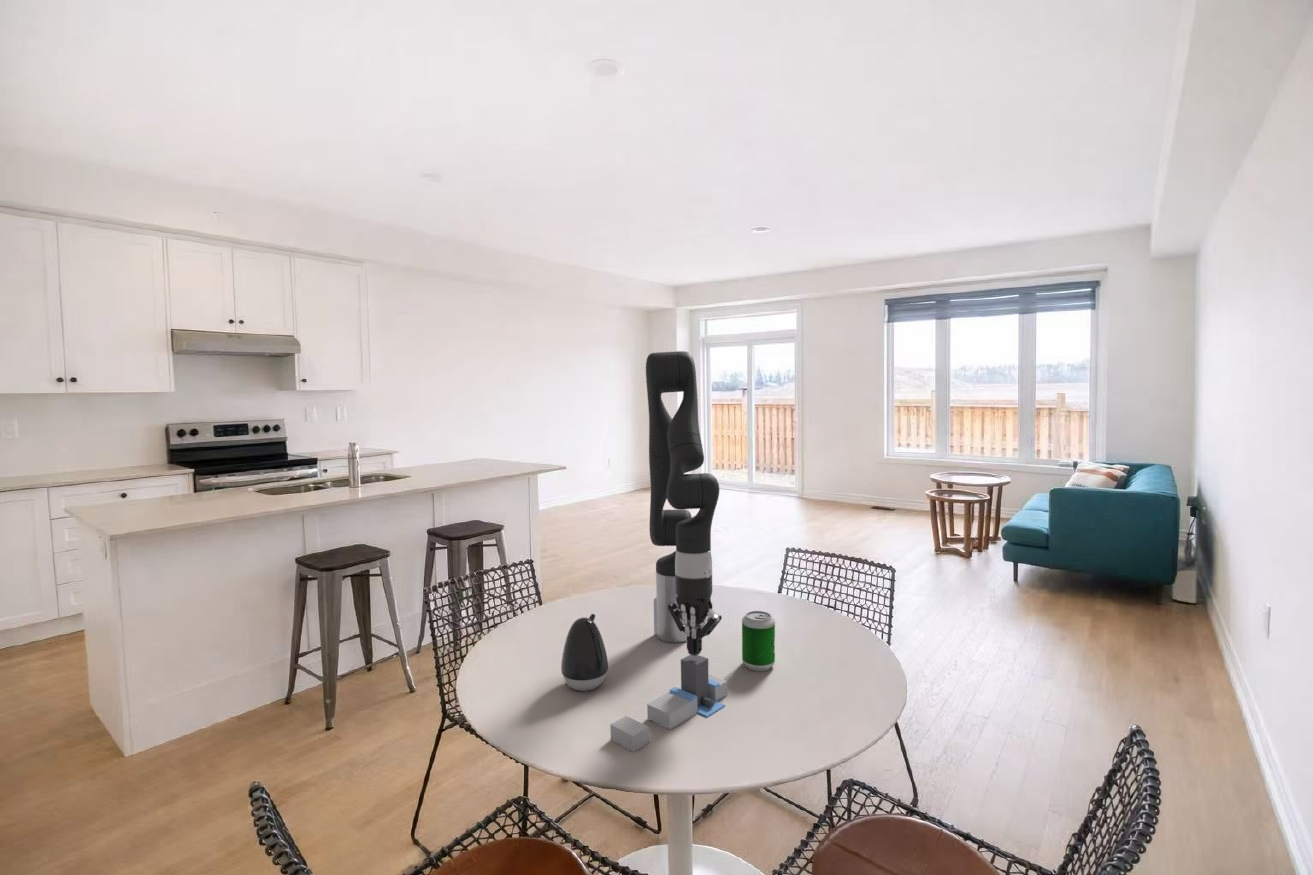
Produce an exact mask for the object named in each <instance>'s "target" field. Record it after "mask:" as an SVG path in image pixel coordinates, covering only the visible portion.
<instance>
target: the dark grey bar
mask: <svg viewBox="0 0 1313 875" xmlns="http://www.w3.org/2000/svg"><path fill="white" fill-rule="evenodd" d="M708 674H709V658H707V657H704V656H702V655H699V654H698V655H696V656H694V655H691V654H689V655H687V656H685V657H684V658H681V659H680V689H681V690H684V691H686V692H688V693H691V694H693V695H696V696H697V707H699V706H700V705H702V704H704V705H706V706H708V707H711V708H712V707H713V705H714V701H713V700H711V699H709V686H708Z"/></svg>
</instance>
